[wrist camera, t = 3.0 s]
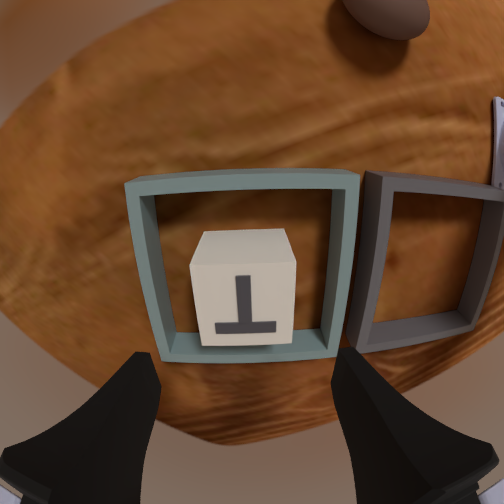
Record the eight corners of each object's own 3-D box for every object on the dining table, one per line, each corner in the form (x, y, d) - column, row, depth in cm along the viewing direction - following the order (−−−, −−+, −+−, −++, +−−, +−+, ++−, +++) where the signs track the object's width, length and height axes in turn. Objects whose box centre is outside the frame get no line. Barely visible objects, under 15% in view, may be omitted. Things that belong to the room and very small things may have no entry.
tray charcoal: (491, 185, 16) (511, 192, 14) (459, 315, 21) (473, 330, 19) (365, 170, 16) (382, 176, 14) (345, 333, 21) (354, 354, 19)
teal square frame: (345, 169, 16) (360, 174, 14) (328, 335, 21) (336, 356, 19) (140, 176, 16) (124, 183, 14) (168, 339, 21) (161, 361, 19)
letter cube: (283, 228, 18) (296, 263, 13) (282, 296, 20) (292, 344, 15) (204, 230, 18) (189, 266, 13) (211, 298, 20) (201, 346, 15)
